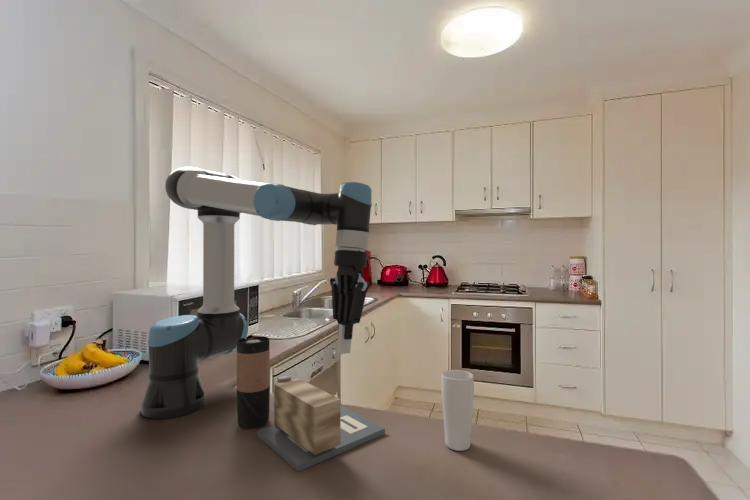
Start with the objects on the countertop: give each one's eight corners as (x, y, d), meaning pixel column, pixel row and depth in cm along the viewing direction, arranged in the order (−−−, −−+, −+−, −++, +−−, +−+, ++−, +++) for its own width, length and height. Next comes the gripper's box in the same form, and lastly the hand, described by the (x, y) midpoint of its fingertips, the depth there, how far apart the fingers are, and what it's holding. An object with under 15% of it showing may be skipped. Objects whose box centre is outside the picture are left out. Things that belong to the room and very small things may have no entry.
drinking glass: (453, 434, 84) (452, 367, 84) (480, 445, 79) (480, 374, 79) (435, 445, 79) (434, 374, 79) (462, 458, 74) (462, 382, 74)
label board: (255, 434, 84) (255, 425, 84) (335, 407, 99) (335, 399, 99) (298, 471, 70) (298, 460, 70) (384, 433, 84) (384, 424, 84)
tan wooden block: (269, 420, 86) (269, 379, 86) (292, 413, 90) (292, 373, 90) (314, 455, 71) (314, 405, 71) (340, 444, 75) (340, 397, 75)
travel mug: (260, 431, 86) (259, 344, 86) (230, 428, 87) (229, 342, 87) (275, 417, 93) (275, 336, 93) (247, 414, 95) (247, 335, 95)
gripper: (381, 252, 84) (374, 358, 83) (348, 251, 94) (341, 345, 93) (354, 249, 79) (346, 361, 78) (322, 248, 89) (314, 347, 88)
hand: (343, 352), depth 86 cm, fingers closed
